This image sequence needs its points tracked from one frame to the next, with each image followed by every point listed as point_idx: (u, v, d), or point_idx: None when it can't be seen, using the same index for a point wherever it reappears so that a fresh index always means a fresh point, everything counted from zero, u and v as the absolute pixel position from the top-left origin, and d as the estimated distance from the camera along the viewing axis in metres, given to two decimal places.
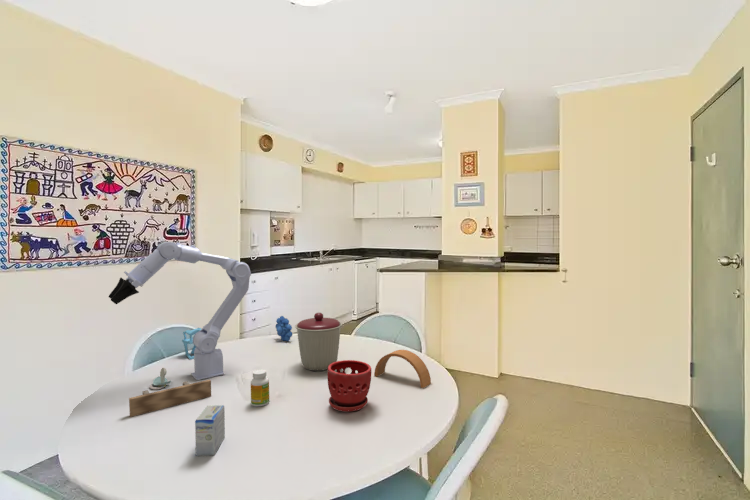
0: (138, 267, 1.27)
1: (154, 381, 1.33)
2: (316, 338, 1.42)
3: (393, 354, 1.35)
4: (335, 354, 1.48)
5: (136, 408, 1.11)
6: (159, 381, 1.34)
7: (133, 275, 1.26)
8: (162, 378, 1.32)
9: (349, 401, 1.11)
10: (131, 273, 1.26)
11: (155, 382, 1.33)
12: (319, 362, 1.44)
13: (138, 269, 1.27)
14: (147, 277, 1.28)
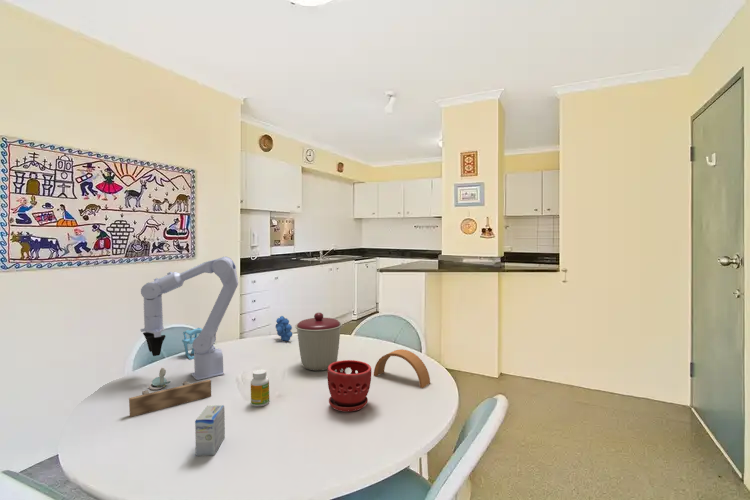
0: (146, 320, 1.35)
1: (153, 381, 1.33)
2: (316, 338, 1.42)
3: (392, 354, 1.35)
4: (335, 354, 1.48)
5: (136, 408, 1.11)
6: (158, 381, 1.34)
7: (149, 328, 1.35)
8: (161, 378, 1.32)
9: (349, 401, 1.11)
10: (146, 328, 1.35)
11: (154, 382, 1.32)
12: (319, 362, 1.44)
13: (148, 322, 1.35)
14: (160, 320, 1.37)
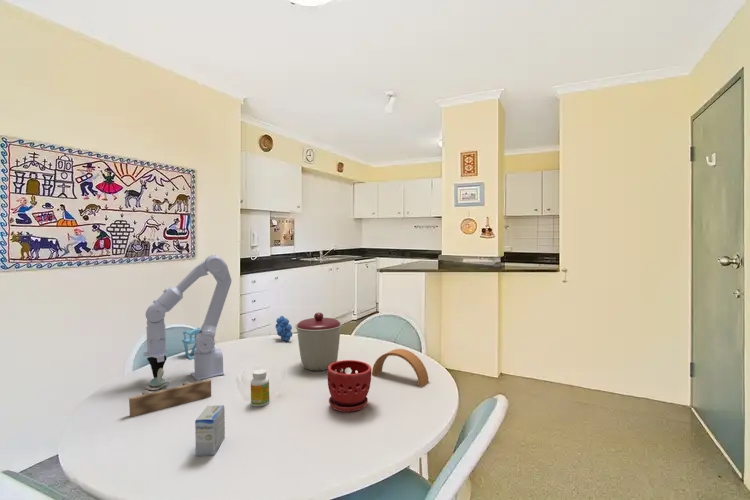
0: (149, 344, 1.32)
1: (151, 382, 1.32)
2: (316, 338, 1.42)
3: (391, 353, 1.36)
4: (335, 354, 1.48)
5: (136, 408, 1.11)
6: (156, 382, 1.33)
7: (152, 352, 1.32)
8: (159, 379, 1.31)
9: (349, 401, 1.11)
10: (149, 352, 1.32)
11: (152, 383, 1.32)
12: (319, 362, 1.44)
13: (151, 346, 1.32)
14: (163, 344, 1.34)
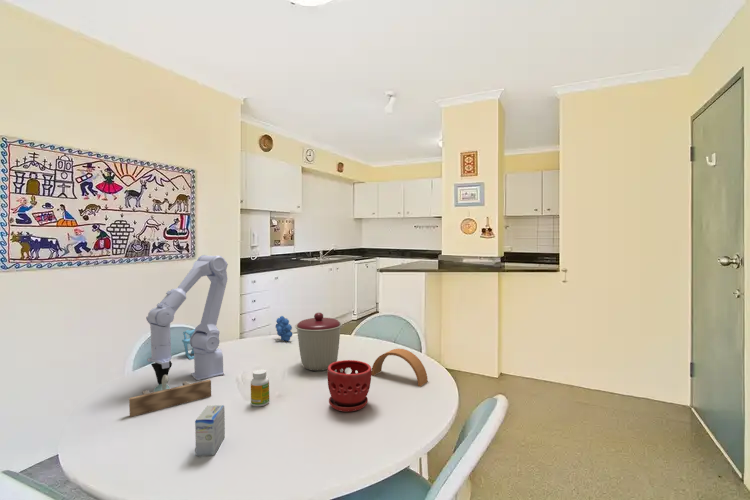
0: (153, 349, 1.26)
1: (155, 389, 1.26)
2: (316, 338, 1.42)
3: (390, 353, 1.36)
4: (335, 354, 1.48)
5: (136, 408, 1.11)
6: (161, 389, 1.27)
7: (156, 358, 1.26)
8: (163, 386, 1.25)
9: (349, 401, 1.11)
10: (153, 357, 1.26)
11: (156, 390, 1.26)
12: (319, 362, 1.44)
13: (155, 351, 1.26)
14: (168, 349, 1.28)
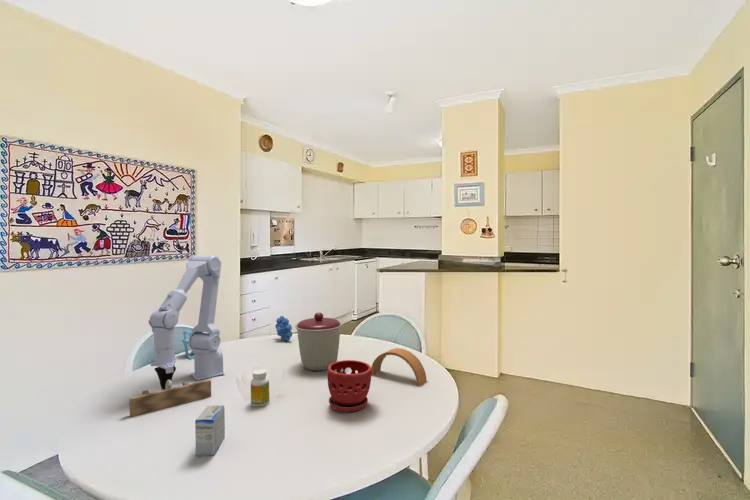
0: (157, 353, 1.22)
1: None
2: (316, 338, 1.42)
3: (389, 353, 1.37)
4: (335, 354, 1.48)
5: (136, 408, 1.11)
6: None
7: (160, 362, 1.22)
8: None
9: (349, 401, 1.11)
10: (157, 362, 1.22)
11: None
12: (319, 362, 1.44)
13: (158, 355, 1.22)
14: (172, 353, 1.24)
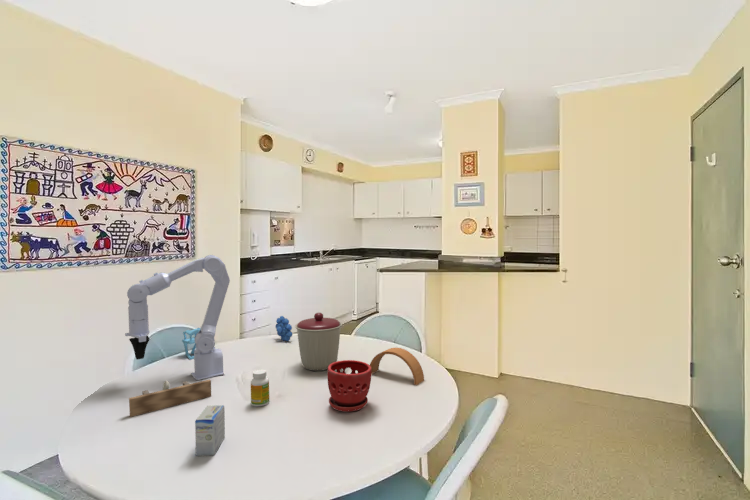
0: (131, 324, 1.29)
1: None
2: (316, 338, 1.42)
3: (387, 352, 1.37)
4: (335, 354, 1.48)
5: (136, 408, 1.11)
6: None
7: (134, 332, 1.29)
8: None
9: (349, 401, 1.11)
10: (131, 332, 1.30)
11: None
12: (319, 362, 1.44)
13: (132, 326, 1.29)
14: (145, 324, 1.32)
